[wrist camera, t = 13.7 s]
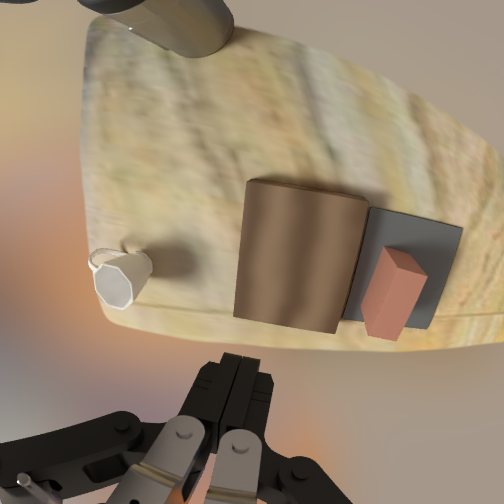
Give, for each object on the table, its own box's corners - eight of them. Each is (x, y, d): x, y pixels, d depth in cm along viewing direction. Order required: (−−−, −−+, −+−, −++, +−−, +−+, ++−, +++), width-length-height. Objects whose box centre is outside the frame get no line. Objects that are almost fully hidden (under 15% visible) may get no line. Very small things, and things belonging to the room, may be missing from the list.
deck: (238, 305, 42) (233, 316, 40) (251, 178, 36) (246, 181, 33) (333, 321, 40) (335, 334, 38) (364, 197, 34) (368, 201, 31)
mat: (342, 317, 40) (342, 318, 40) (370, 206, 34) (370, 207, 34) (426, 327, 38) (426, 329, 38) (461, 228, 32) (462, 228, 32)
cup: (153, 293, 44) (127, 319, 37) (104, 260, 44) (74, 281, 37) (167, 258, 42) (139, 282, 34) (114, 224, 42) (81, 241, 34)
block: (367, 335, 32) (396, 341, 32) (397, 267, 29) (427, 276, 28) (360, 305, 38) (385, 311, 38) (383, 246, 35) (409, 253, 35)
